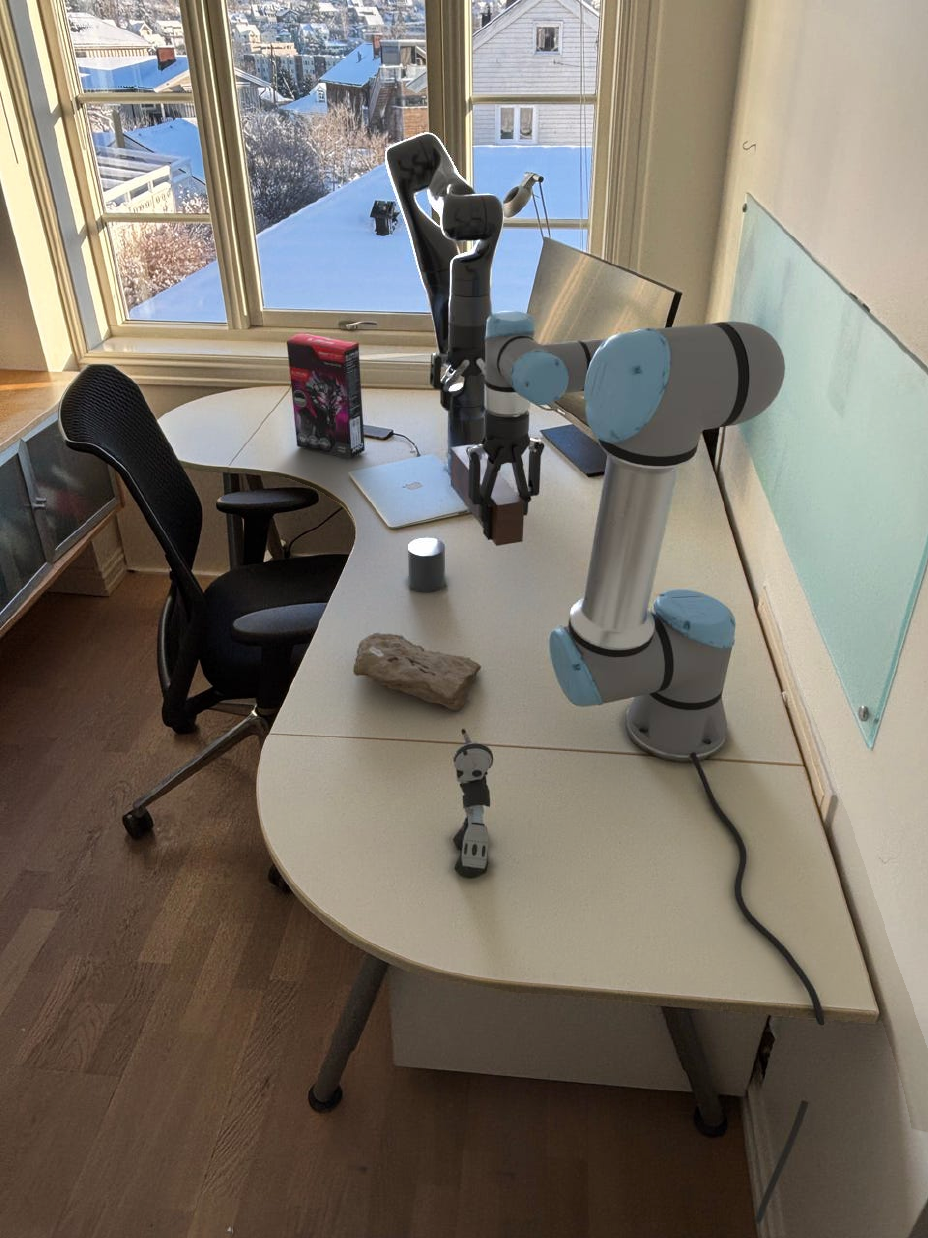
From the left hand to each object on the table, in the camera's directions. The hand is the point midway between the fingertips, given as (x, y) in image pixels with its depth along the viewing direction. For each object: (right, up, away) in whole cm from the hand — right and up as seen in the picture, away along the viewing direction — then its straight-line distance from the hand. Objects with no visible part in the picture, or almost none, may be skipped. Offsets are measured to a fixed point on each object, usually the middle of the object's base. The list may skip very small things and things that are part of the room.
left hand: (468, 406), depth 171 cm
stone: (-9, -50, -18) cm, 54 cm away
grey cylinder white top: (-8, -32, +8) cm, 34 cm away
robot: (0, -71, -49) cm, 86 cm away
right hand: (+6, -24, -6) cm, 25 cm away
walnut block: (+3, -19, +2) cm, 20 cm away
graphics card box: (-34, +3, +60) cm, 70 cm away
